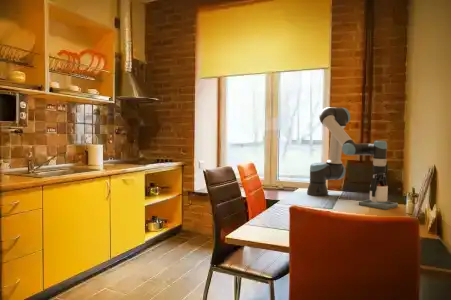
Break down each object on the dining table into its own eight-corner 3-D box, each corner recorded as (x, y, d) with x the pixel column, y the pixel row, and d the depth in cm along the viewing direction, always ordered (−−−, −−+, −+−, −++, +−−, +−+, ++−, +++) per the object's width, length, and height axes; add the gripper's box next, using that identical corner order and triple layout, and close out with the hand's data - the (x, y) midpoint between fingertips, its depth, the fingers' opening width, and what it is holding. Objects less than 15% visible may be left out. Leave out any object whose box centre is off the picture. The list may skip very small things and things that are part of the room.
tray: (358, 205, 208) (358, 201, 208) (372, 202, 218) (372, 198, 218) (384, 210, 195) (385, 206, 195) (397, 206, 205) (398, 203, 205)
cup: (389, 203, 200) (389, 187, 200) (371, 202, 202) (372, 186, 202) (384, 200, 210) (385, 184, 210) (368, 199, 212) (368, 183, 212)
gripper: (376, 166, 195) (375, 204, 196) (394, 165, 209) (392, 199, 210) (364, 165, 201) (363, 201, 202) (382, 164, 215) (381, 197, 216)
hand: (378, 200), depth 206 cm, fingers closed on cup, 10 cm apart
